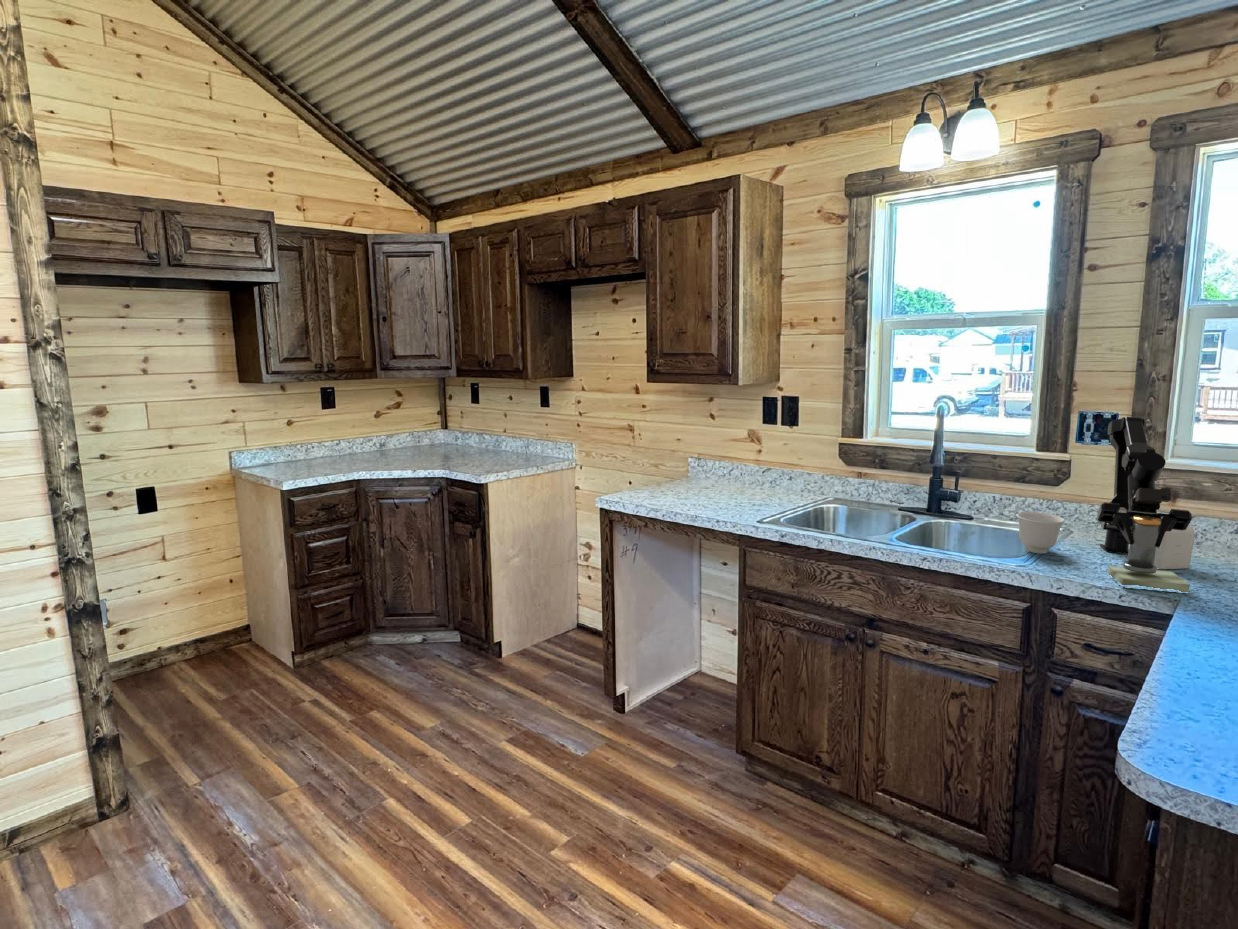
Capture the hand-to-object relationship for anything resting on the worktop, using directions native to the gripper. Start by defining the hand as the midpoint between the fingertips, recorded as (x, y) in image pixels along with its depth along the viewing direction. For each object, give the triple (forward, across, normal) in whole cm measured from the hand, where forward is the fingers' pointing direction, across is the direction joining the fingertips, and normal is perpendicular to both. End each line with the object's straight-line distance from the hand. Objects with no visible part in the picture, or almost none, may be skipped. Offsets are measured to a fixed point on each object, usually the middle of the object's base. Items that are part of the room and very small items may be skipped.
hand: (1144, 545), depth 179 cm
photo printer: (-7, +10, +22) cm, 25 cm away
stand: (+6, +2, +8) cm, 11 cm away
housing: (+4, 0, +6) cm, 7 cm away
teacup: (-8, -21, +23) cm, 32 cm away
